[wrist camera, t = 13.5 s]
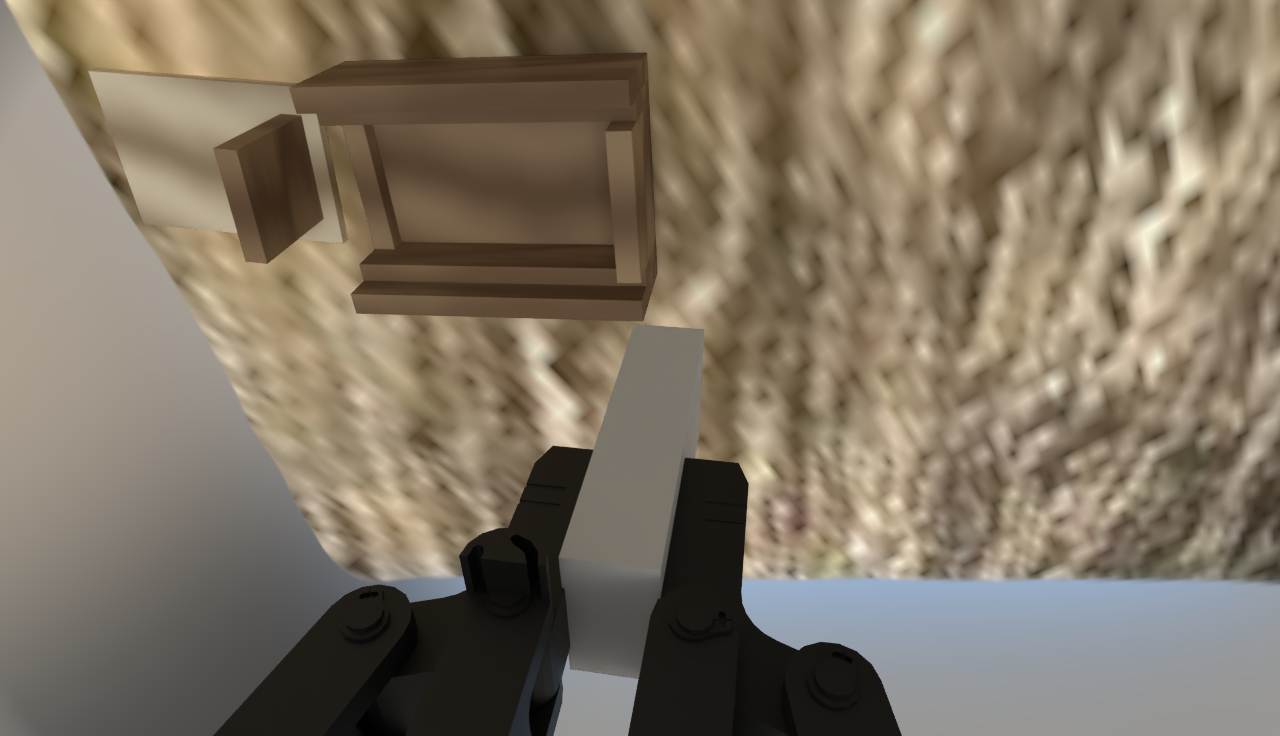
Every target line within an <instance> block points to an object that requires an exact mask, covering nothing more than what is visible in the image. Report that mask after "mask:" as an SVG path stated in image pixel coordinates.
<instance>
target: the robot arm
mask: <svg viewBox="0 0 1280 736" xmlns="http://www.w3.org/2000/svg"><path fill="white" fill-rule="evenodd" d="M703 339H704V330H703V329H690V328H678V327H665V326H652V325H639V324H635V325H634V328H633V331H632V334H631V337H630V340H629V343H628V346H627V349H626V352H625V355H624V358H623V361H622V364H621V368H620V371H619V374H618V377H617V380H616V383H615V386H614V389H613V392H612V395H611V398H610V401H609V404H608V407H607V410H606V414H605V417H604V420H603V423H602V426H601V429H600V432H599V435H598V438H597V441H596V444H595V447H594V450H590V449H580V448H570V447H560V446H552V447H551V448H550V449H549V450H548V451H547V452H546V453H545V454H544V455H543V456H542V457H541V458H540V459H539V460H537V461H536V462H535V464H534V467H533V469H532V472H531V474H530V476H529V479H528V481H527V486H526V487H525V488H524V491H523V493H522V496H521V498H520V503H519V504H518V505H517V508H516V510H515V513H514V515H513V517H512V520H511V522H510V525H509V527H508V528H498V529H495V530H492V531H489V532H486V533H482V534H481V535H479V536H478V537H476V538H475V539H474V540H472V541H471V542H469V543H468V544H467V545H466V547H465V548H464V550H463V551H462V552H461V554H460V555H459V557H460V562H461V567H462V571H463V576H464V580H465V585H466V589H467V590H465V591H463V592H461V593H459V594H456V595H452V596H449V597H445V598H439V599H432V600H426V601H419V602H413V603H410V602H409V600H408V598H407V596H406V594H404V593H403V592H401V591H400V590H398V589H397V588H395V587H391V586H385V585H373V586H367V587H361V588H359V589H357V590H355V591H352V592H350V593H348V594H346V595H344V596H343V597H342V598H341V599H339V601H337V602H336V603H335V604H333V605H332V606H331V607H330V608H329V609H328V610H327V612H326V613H325V614H324V615H323V616H322V617H321V618H320V619H319V620H318V621H317V623H316V624H315V625H314V626H313V627H312V628H311V629H310V630H309V631H308V632H307V633H306V635H305V636H304V637H303V638H302V639H301V640H300V641H299V642H298V643H297V644H296V646H295V647H294V648H293V649H292V650H291V651H290V652H289V653H288V654H287V655H286V656H285V658H284V659H283V660H282V661H281V662H280V663H279V664H278V665H277V666H276V667H275V669H274V670H273V671H272V672H271V673H270V674H269V675H268V676H267V677H266V678H265V679H264V681H263V682H262V683H261V684H260V685H259V686H258V687H257V688H256V689H255V691H254V692H253V693H252V694H251V695H250V696H249V697H248V698H247V699H246V700H245V701H244V703H243V704H242V705H241V706H240V707H239V708H238V709H237V710H236V711H235V712H234V713H233V715H232V716H231V717H230V718H229V719H228V720H227V721H226V722H225V723H224V725H223V726H222V727H221V728H220V729H219V730H218V731H217V732H216V733H215V734H214V735H213V736H553V734H554V731H555V727H556V723H557V719H558V716H559V712H560V708H561V704H562V694H563V686H562V675H563V671H564V667H565V664H566V660H567V656H568V653H569V661H570V669H574V670H581V671H588V672H595V673H601V674H609V675H615V676H622V677H630V678H636V679H639V680H638V685H637V691H636V696H635V701H634V707H633V713H632V718H631V723H630V728H629V734H628V736H902V735H901V732H900V730H899V727H898V724H897V722H896V719H895V716H894V714H893V711H892V708H891V705H890V703H889V700H888V697H887V695H886V692H885V689H884V687H883V684H882V681H881V679H880V678H879V676H878V674H877V672H876V671H875V669H874V667H873V666H872V664H871V663H870V662H868V661H867V660H866V659H865V658H863V656H861V655H860V654H859V653H858V652H857V651H854V650H852V649H850V648H847V647H845V646H842V645H841V644H835V643H826V642H818V643H815V644H811V645H807V646H804V647H802V648H801V649H800V650H796V649H794V648H792V647H790V646H788V645H785V644H783V643H781V642H779V641H776V640H775V639H773V638H771V637H769V636H767V635H766V634H764V633H763V632H762V631H761V630H760V629H758V628H757V627H756V626H755V625H754V624H753V623H752V621H751V620H750V618H749V617H748V616H747V614H746V612H745V609H744V607H743V604H742V597H741V596H742V595H741V587H742V573H743V558H744V543H745V527H746V514H747V499H748V482H747V479H746V477H745V475H744V473H743V471H742V469H741V467H740V465H739V463H733V462H723V461H713V460H704V459H695V454H696V447H697V441H698V435H699V426H700V405H701V383H702V361H703Z"/></svg>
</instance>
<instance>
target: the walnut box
mask: <svg viewBox="0 0 1280 736" xmlns="http://www.w3.org/2000/svg"><path fill="white" fill-rule="evenodd" d="M289 90H290V93H291V97H292V100H293V103H294V107H295V110H296V113H297V114H316V115H317V118H318V122H319V125H320V126H329V125H342V128H343V132H344V135H345V139H346V143H347V146H348V150H349V154H350V158H351V161H352V165H353V169H354V172H355V176H356V180H357V183H358V187H359V191H360V194H361V198H362V202H363V206H364V209H365V213H366V217H367V220H368V224H369V228H370V231H371V235H372V239H373V243H374V246H375V250H374V251H373V252H372V253H371V254H370V255H369V256H368V257H367V258H366V259H365V260H364V261H362V262H361V263H360V264H359V265H360V268H361V272H362V275H363V279H364V281H363V282H362V283H361V284H360V285H359V286H358V287H357V288H356V289H355V290H354V291H353V292H352V293H351V296H352V300H353V303H354V306H355V310H356V313H359V314H396V315H432V316H468V317H504V318H541V319H577V320H613V321H643V320H644V317H645V313H646V310H647V306H648V303H649V300H650V296H651V293H652V289H653V286H654V283H655V279H656V276H657V256H656V235H655V214H654V193H653V172H652V151H651V130H650V109H649V88H648V67H647V53H620V54H585V55H550V56H515V57H480V58H445V59H410V60H375V61H345V62H343V63H341V64H339V65H337V66H334V67H332V68H330V69H328V70H326V71H324V72H321V73H319V74H317V75H315V76H313V77H311V78H309V79H306V80H304V81H302V82H300V83H298V84H296V85H293V86H291V87H289Z"/></svg>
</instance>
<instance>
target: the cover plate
mask: <svg viewBox="0 0 1280 736" xmlns="http://www.w3.org/2000/svg"><path fill="white" fill-rule="evenodd" d="M89 74H90V77H91V80H92V82H93V85H94V88H95V91H96V93H97V96H98V99H99V102H100V104H101V107H102V110H103V113H104V116H105V118H106V121H107V124H108V127H109V129H110V132H111V135H112V138H113V140H114V143H115V146H116V149H117V151H118V154H119V157H120V160H121V162H122V165H123V168H124V171H125V173H126V176H127V179H128V182H129V185H130V187H131V190H132V193H133V196H134V198H135V201H136V204H137V207H138V209H139V212H140V215H141V218H142V220H143V223H144V224H150V225H160V226H170V227H180V228H190V229H200V230H211V231H221V232H231V233H238V236H239V240H240V243H241V247H242V250H243V254H244V257H245V260H246V262H256V263H265V264H267V263H269V262H270V261H271V260H272V259H274V258H275V257H276V256H278V255H279V254H280V253H281V252H283V251H284V250H285V249H286V248H288V247H289V246H290V245H291V244H293V243H294V242H295V241H296V240H298V239H301V240H311V241H321V242H331V243H341V244H343V243H345V242H346V241H347V240H348V236H347V231H346V226H345V221H344V216H343V211H342V206H341V201H340V196H339V191H338V186H337V181H336V176H335V171H334V166H333V161H332V156H331V151H330V146H329V142H328V137H327V132H326V127H325V126H320V125H319V122H318V118H317V115H316V114H297V113H296V110H295V107H294V103H293V100H292V97H291V93H290V90H289V87H291V86H293V85H296V83H283V82H270V81H257V80H243V79H230V78H217V77H204V76H191V75H177V74H164V73H151V72H138V71H125V70H112V69H98V68H97V69H93V70H90V71H89Z"/></svg>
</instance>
